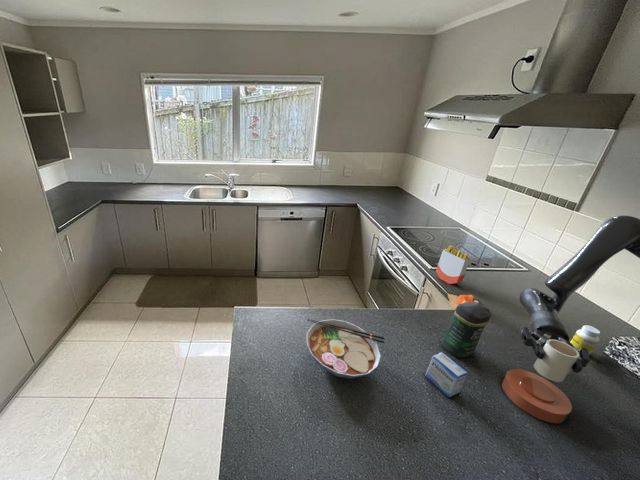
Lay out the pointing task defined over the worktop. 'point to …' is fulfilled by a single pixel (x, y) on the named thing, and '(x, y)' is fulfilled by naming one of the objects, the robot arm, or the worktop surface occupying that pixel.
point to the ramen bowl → (343, 348)
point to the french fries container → (452, 265)
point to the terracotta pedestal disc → (536, 396)
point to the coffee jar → (466, 328)
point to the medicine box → (446, 374)
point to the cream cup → (556, 360)
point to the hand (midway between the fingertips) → (559, 363)
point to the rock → (459, 300)
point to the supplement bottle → (586, 338)
